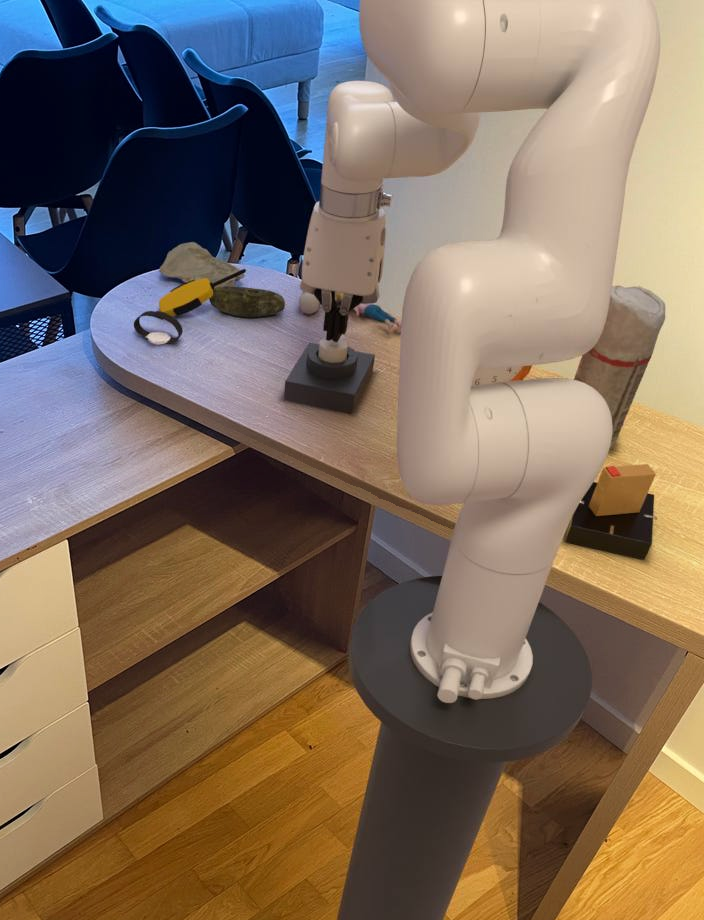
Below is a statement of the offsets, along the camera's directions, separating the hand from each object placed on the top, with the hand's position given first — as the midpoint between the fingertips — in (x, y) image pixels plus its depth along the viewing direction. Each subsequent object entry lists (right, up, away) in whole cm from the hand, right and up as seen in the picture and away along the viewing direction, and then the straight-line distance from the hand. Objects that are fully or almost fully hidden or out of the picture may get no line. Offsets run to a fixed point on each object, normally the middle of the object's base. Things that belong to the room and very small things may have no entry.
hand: (334, 336), depth 125 cm
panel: (+31, -28, -16) cm, 45 cm away
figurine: (+12, +7, +15) cm, 21 cm away
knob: (+31, -27, -18) cm, 45 cm away
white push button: (0, -2, +2) cm, 3 cm away
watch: (-25, +7, +13) cm, 29 cm away
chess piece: (+1, +18, +24) cm, 30 cm away
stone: (-16, +24, +30) cm, 42 cm away
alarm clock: (+20, -7, +4) cm, 22 cm away
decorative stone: (-11, +13, +17) cm, 24 cm away
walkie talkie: (-26, +11, +20) cm, 34 cm away
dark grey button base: (0, -5, +5) cm, 8 cm away
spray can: (+34, -15, -3) cm, 37 cm away
